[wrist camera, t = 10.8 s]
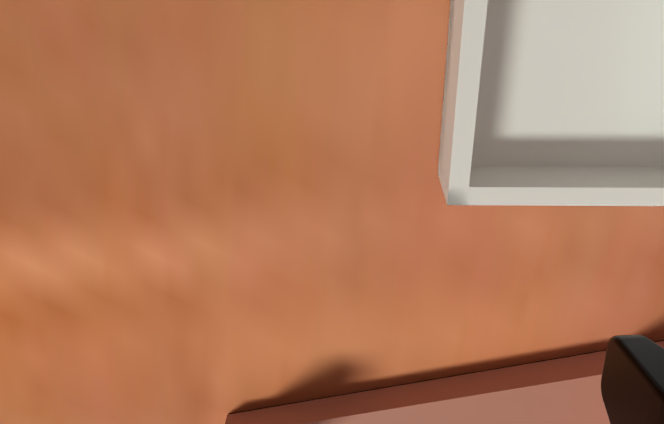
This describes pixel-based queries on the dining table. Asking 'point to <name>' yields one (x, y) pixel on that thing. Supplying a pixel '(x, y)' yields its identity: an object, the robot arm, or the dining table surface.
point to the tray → (554, 103)
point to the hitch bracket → (464, 399)
